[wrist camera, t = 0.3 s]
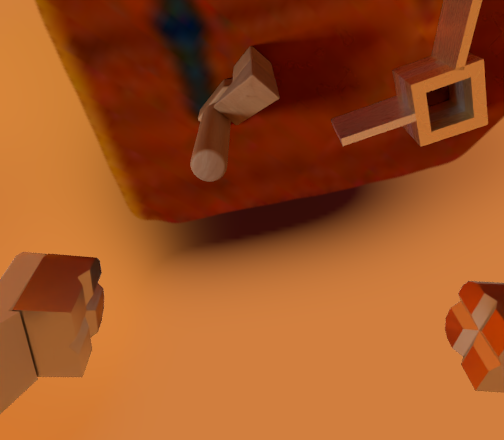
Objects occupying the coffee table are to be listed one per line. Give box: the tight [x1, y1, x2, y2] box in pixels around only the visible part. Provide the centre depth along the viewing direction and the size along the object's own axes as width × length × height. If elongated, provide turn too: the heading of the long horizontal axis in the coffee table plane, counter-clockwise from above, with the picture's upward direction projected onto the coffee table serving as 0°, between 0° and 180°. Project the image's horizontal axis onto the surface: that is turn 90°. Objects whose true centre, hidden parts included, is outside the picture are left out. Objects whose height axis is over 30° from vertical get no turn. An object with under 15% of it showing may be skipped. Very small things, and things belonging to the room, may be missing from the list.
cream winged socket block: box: [331, 0, 488, 147], centre depth 50 cm, size 18×16×7 cm
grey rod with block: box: [190, 46, 280, 182], centre depth 46 cm, size 4×11×18 cm, turn 140°
